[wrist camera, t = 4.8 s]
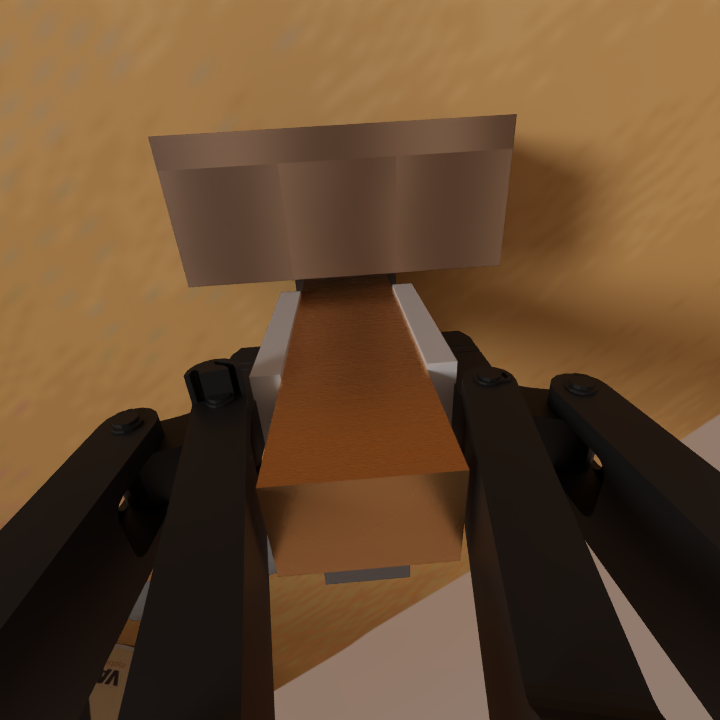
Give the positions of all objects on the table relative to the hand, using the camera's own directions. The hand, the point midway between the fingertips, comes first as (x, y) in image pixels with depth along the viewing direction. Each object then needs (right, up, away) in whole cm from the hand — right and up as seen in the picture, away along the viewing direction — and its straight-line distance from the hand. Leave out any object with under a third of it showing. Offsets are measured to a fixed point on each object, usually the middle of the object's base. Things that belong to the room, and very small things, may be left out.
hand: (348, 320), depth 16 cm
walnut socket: (-1, +7, +4) cm, 8 cm away
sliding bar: (0, -1, +8) cm, 8 cm away
